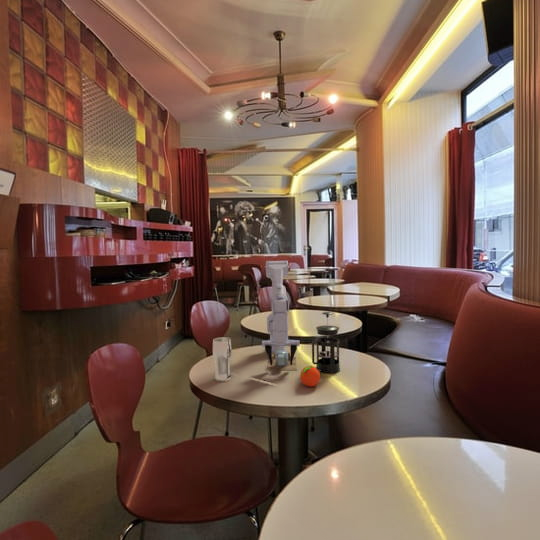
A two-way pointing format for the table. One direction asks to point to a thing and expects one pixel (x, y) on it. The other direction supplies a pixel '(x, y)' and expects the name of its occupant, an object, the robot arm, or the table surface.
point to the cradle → (275, 368)
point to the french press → (327, 356)
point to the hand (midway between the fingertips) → (281, 364)
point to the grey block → (281, 358)
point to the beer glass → (222, 358)
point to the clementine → (310, 376)
